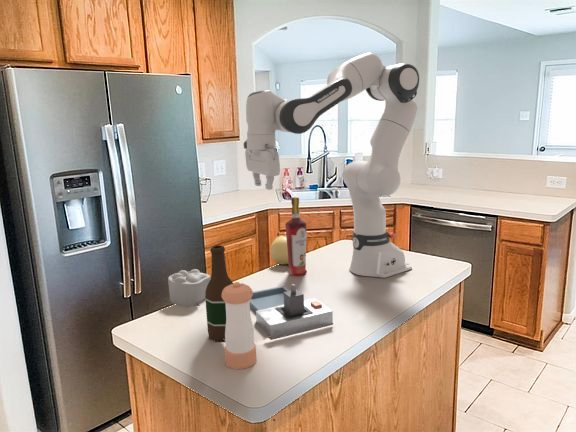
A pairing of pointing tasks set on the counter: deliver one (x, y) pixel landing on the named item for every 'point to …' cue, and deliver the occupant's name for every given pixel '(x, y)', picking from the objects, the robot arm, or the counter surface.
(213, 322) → the beer bottle
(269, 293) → the tray
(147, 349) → the counter surface
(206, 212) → the counter surface
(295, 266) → the liquor
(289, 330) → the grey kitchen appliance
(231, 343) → the pepper shaker
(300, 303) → the plug
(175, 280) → the lumpy-topped squat cylinder
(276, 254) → the sculpture
